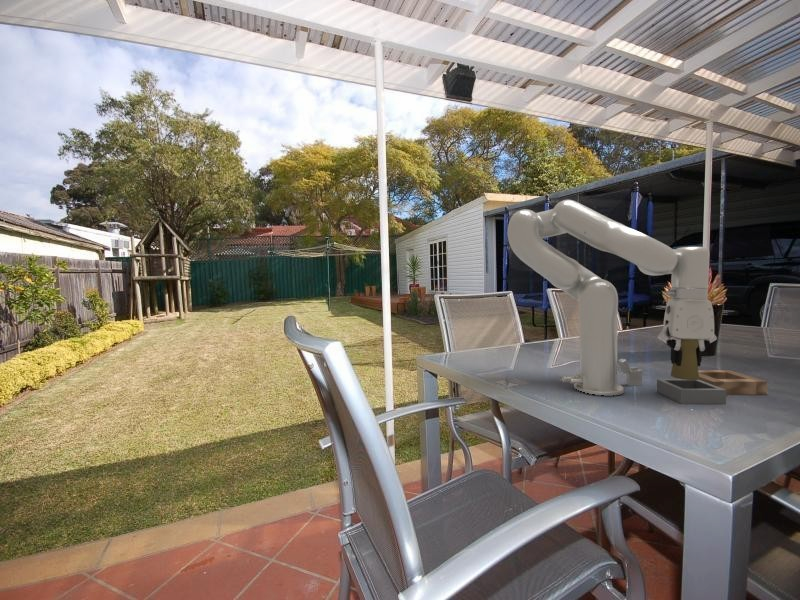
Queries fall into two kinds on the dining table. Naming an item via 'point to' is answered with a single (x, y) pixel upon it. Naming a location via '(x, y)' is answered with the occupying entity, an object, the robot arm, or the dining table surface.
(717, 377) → the socket block
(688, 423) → the dining table surface
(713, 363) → the dining table surface
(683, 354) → the cork
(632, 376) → the lighter
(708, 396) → the grey square frame
